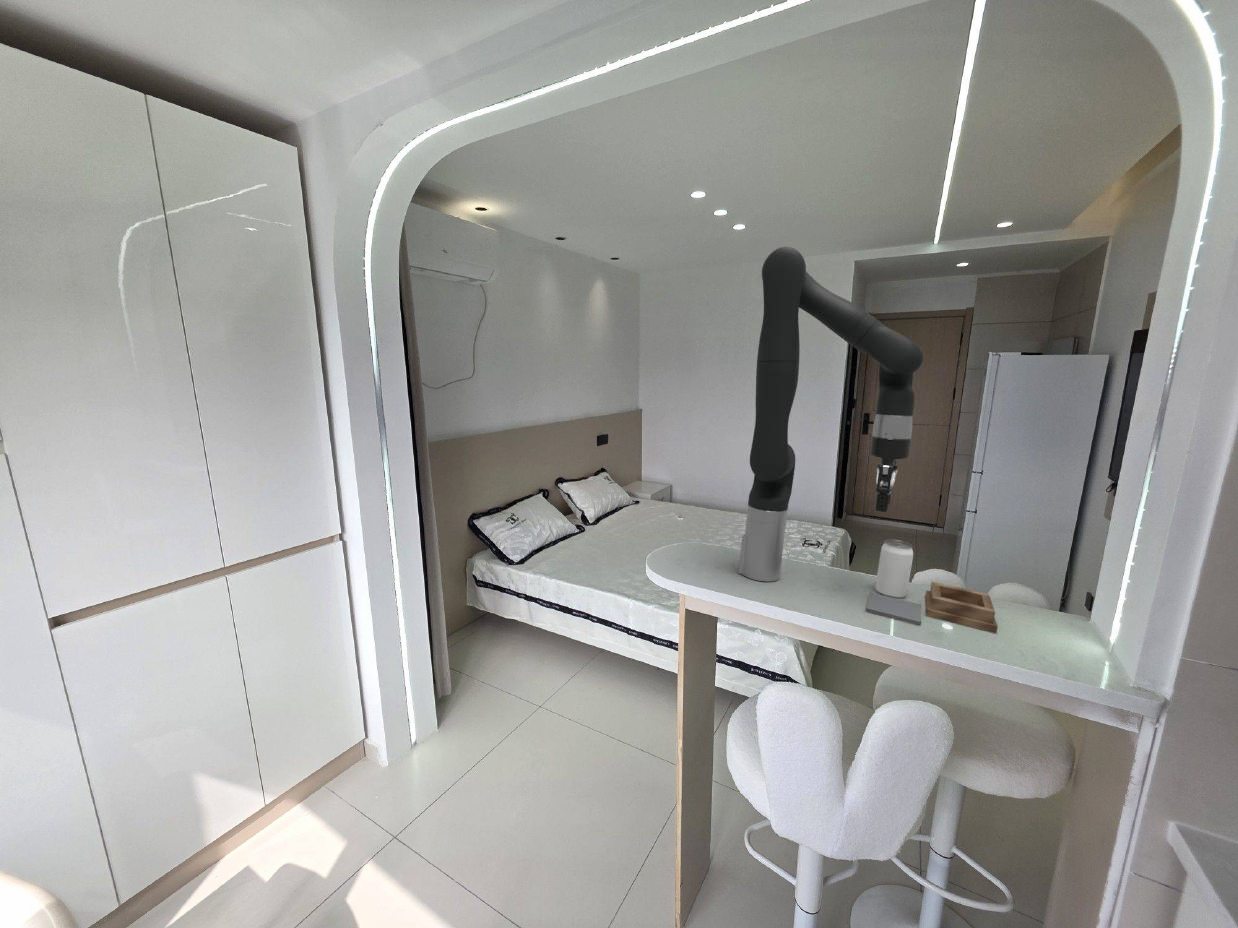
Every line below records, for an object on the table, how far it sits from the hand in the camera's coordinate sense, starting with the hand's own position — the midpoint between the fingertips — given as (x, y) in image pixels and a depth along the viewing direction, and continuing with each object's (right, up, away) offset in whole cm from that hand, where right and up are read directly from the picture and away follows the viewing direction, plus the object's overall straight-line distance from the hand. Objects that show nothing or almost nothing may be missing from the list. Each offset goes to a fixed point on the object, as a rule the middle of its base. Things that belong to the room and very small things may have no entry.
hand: (882, 507), depth 111 cm
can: (+4, -20, +4) cm, 21 cm away
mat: (0, -22, -5) cm, 22 cm away
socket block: (+13, -22, -5) cm, 27 cm away
